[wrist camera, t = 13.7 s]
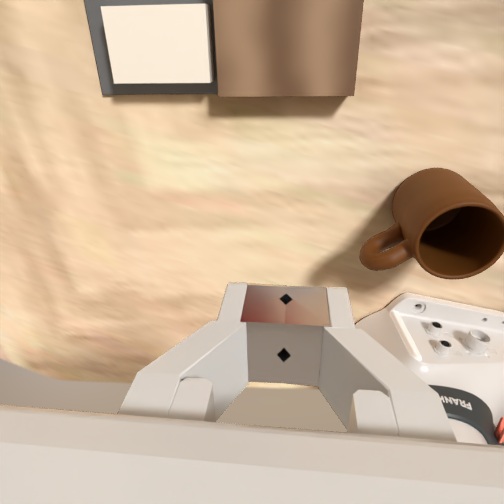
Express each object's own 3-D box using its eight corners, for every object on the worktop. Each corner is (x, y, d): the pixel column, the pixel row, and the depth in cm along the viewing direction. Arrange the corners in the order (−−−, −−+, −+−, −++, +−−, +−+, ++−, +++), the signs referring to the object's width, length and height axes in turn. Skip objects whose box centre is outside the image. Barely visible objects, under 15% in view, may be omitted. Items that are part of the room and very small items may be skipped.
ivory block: (210, 5, 33) (205, 3, 32) (214, 80, 36) (210, 82, 34) (110, 7, 34) (100, 6, 32) (122, 81, 37) (113, 83, 35)
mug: (362, 256, 44) (376, 306, 36) (339, 198, 41) (350, 238, 33) (474, 219, 40) (518, 265, 32) (459, 152, 37) (503, 185, 29)
